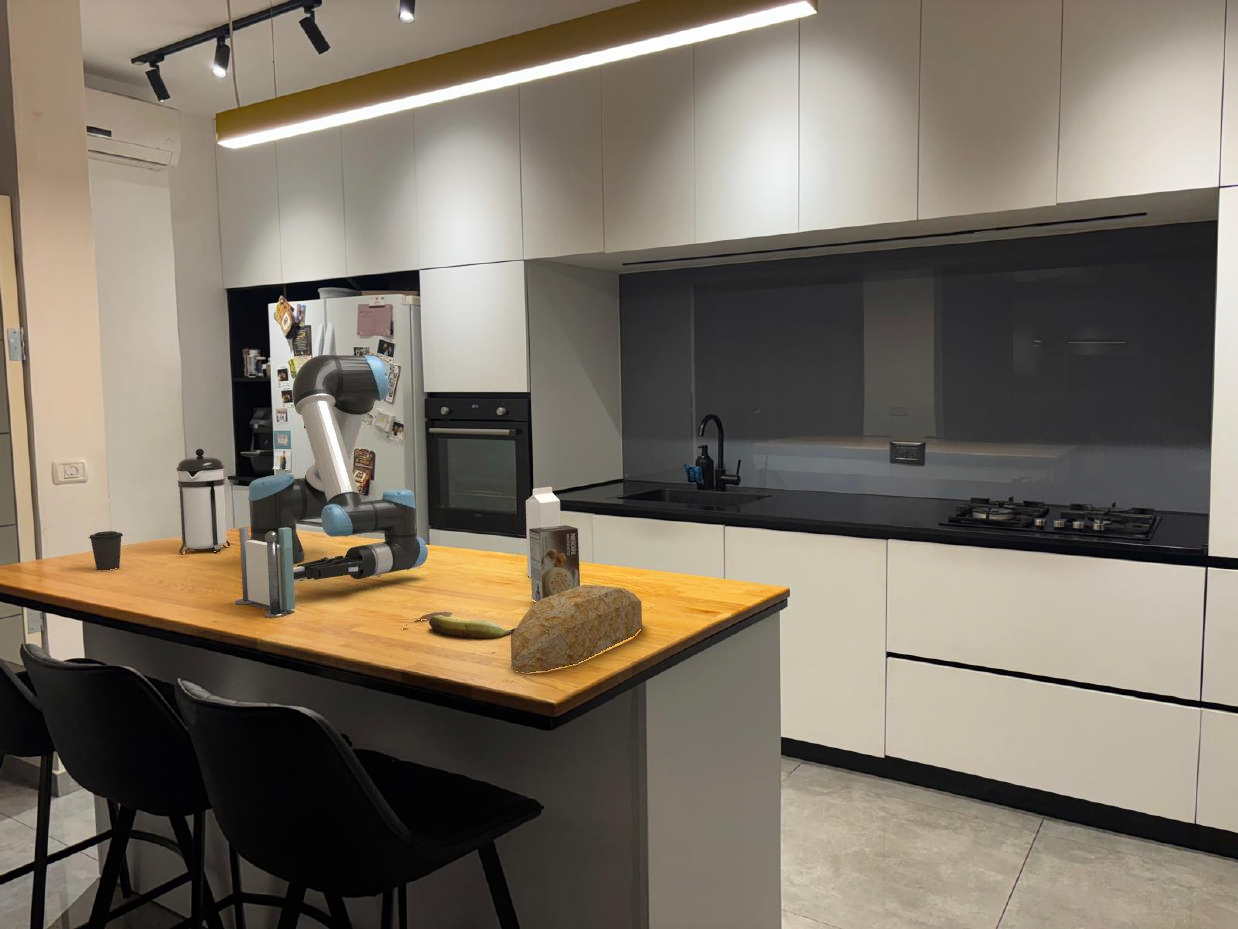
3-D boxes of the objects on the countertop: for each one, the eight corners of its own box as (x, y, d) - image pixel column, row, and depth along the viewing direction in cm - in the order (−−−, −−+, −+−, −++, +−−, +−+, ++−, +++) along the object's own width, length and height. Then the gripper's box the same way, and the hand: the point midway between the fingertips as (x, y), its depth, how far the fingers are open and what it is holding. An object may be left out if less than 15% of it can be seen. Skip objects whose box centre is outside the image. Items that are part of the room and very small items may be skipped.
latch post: (260, 615, 197) (255, 531, 196) (279, 611, 201) (275, 529, 199) (271, 618, 194) (267, 533, 193) (290, 614, 198) (286, 531, 196)
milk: (561, 577, 232) (560, 487, 230) (542, 581, 227) (540, 489, 225) (546, 573, 236) (544, 485, 234) (526, 577, 232) (525, 487, 230)
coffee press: (245, 549, 279) (239, 447, 276) (189, 557, 267) (183, 451, 265) (219, 543, 291) (214, 445, 288) (165, 550, 279) (159, 449, 277)
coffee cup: (114, 572, 248) (112, 534, 247) (84, 572, 248) (81, 534, 247) (131, 566, 256) (129, 529, 255) (101, 566, 256) (99, 529, 255)
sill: (231, 602, 209) (230, 601, 209) (252, 598, 213) (252, 597, 213) (278, 615, 197) (278, 613, 197) (300, 611, 201) (300, 609, 201)
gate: (241, 599, 210) (237, 521, 208) (249, 598, 211) (245, 520, 209) (287, 612, 197) (283, 529, 196) (295, 610, 199) (291, 528, 197)
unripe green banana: (348, 645, 176) (347, 625, 175) (436, 612, 200) (435, 594, 200) (510, 667, 161) (509, 644, 160) (583, 628, 185) (583, 608, 185)
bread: (549, 680, 152) (548, 618, 151) (496, 670, 158) (494, 611, 157) (658, 628, 183) (657, 577, 182) (610, 621, 188) (609, 572, 187)
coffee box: (569, 595, 211) (567, 524, 209) (581, 601, 205) (579, 528, 204) (530, 600, 207) (528, 527, 205) (542, 606, 201) (540, 531, 200)
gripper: (385, 579, 218) (293, 599, 200) (351, 573, 226) (260, 591, 208) (384, 547, 217) (291, 563, 199) (350, 542, 225) (258, 557, 207)
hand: (275, 577), depth 203 cm, fingers closed
